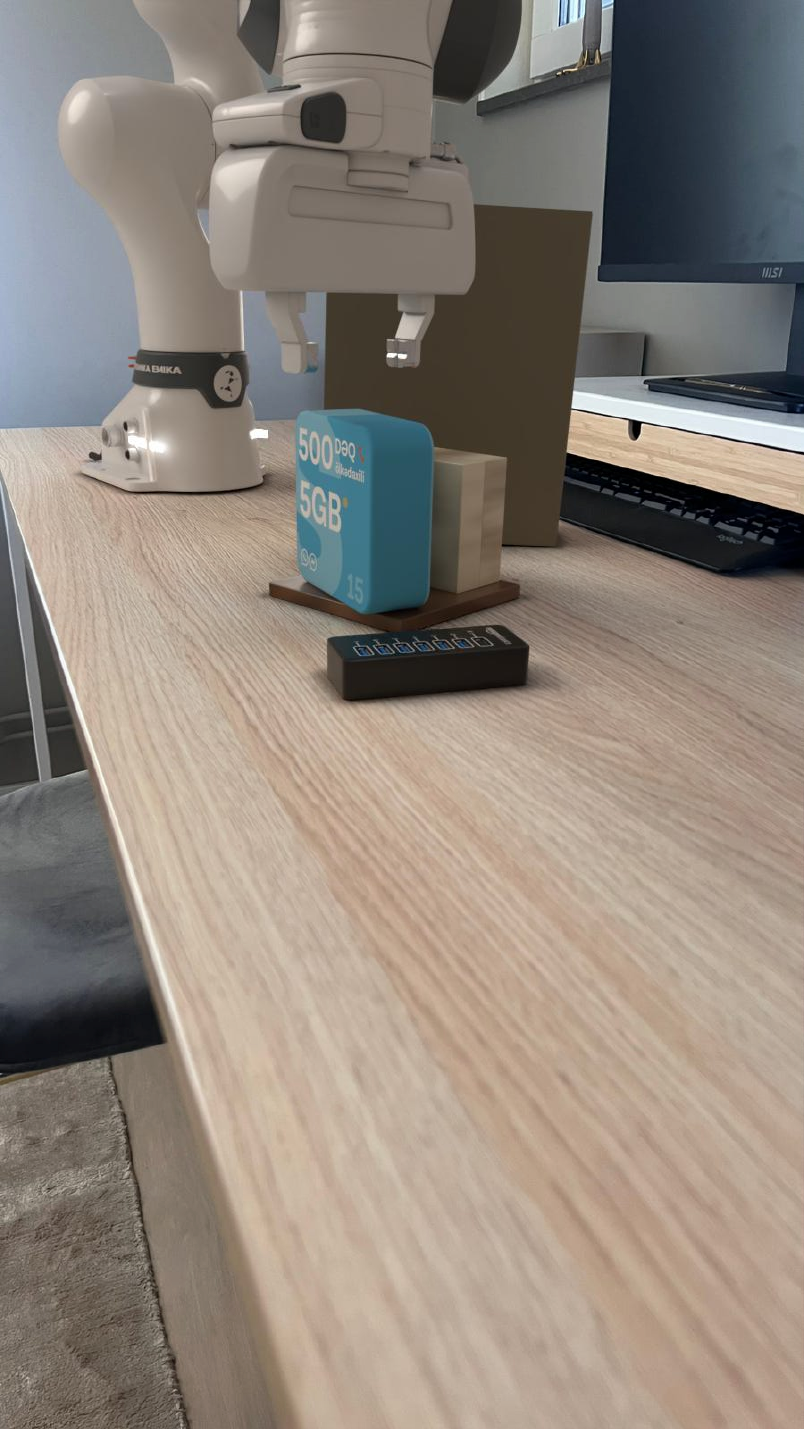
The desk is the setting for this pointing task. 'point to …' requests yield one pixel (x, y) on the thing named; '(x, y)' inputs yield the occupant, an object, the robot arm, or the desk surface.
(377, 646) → the multiport hub
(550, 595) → the desk surface
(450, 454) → the wood block on base
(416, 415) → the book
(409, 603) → the data package
